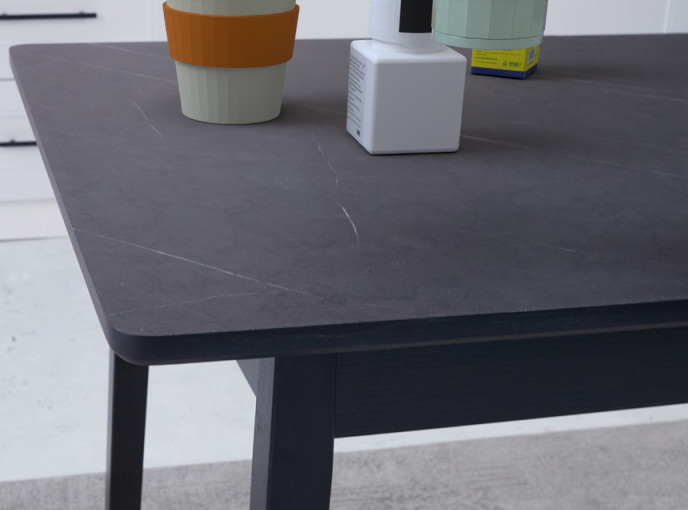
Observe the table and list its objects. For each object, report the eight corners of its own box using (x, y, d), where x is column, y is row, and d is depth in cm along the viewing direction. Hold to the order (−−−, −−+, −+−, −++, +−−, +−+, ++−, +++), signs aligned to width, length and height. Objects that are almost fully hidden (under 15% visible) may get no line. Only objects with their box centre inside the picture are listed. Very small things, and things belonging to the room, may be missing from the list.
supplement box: (537, 69, 125) (550, -38, 120) (524, 80, 120) (537, -31, 115) (484, 64, 127) (494, -42, 122) (469, 74, 122) (479, -36, 117)
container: (429, 128, 102) (442, -27, 96) (459, 152, 95) (475, -14, 89) (345, 131, 100) (352, -27, 94) (369, 155, 93) (379, -13, 87)
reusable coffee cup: (235, 89, 113) (236, -75, 106) (328, 114, 105) (335, -62, 98) (133, 109, 105) (127, -68, 98) (225, 137, 97) (225, -52, 90)
